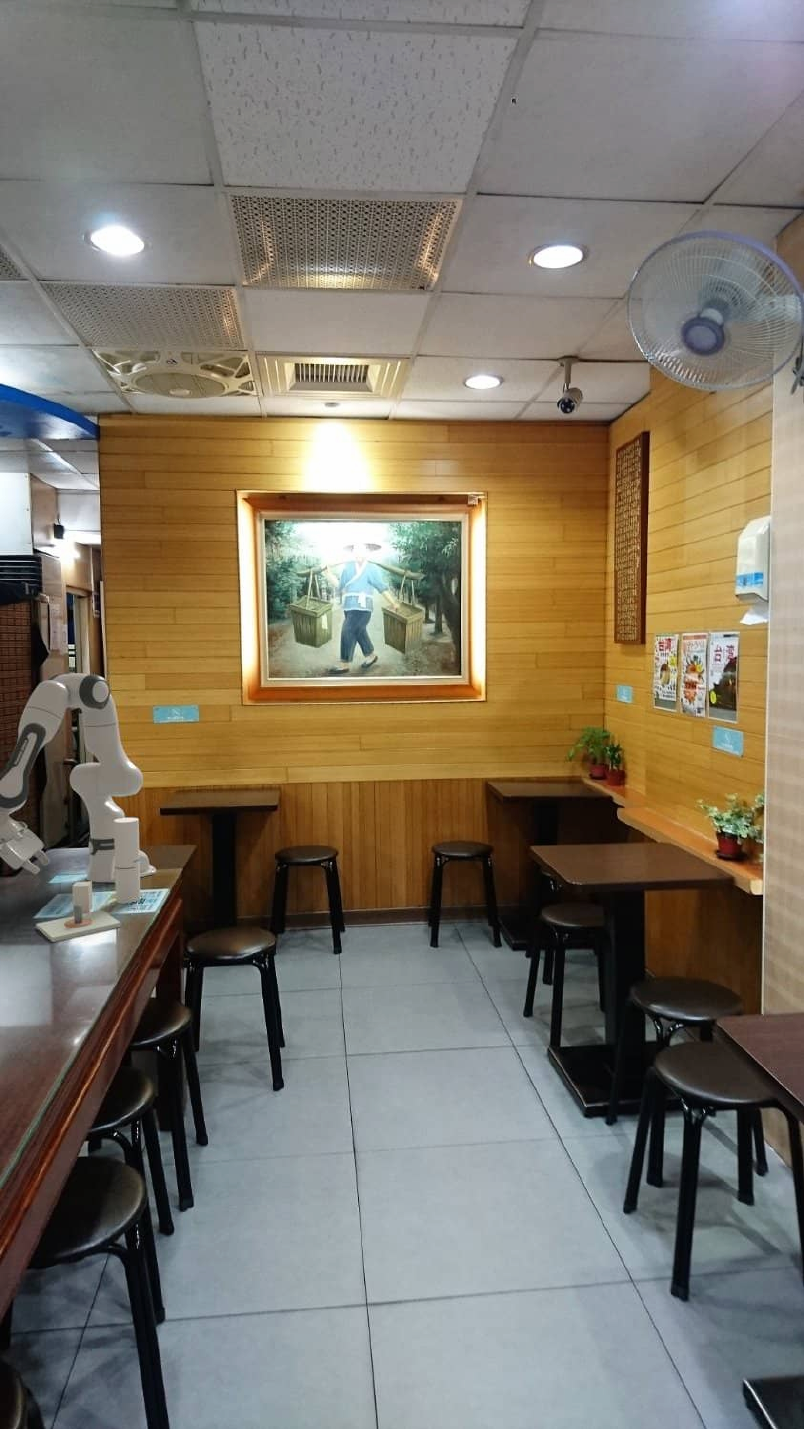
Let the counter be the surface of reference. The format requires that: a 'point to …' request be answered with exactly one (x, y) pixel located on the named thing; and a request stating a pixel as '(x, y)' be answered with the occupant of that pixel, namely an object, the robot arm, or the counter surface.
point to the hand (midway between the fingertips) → (43, 867)
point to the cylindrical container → (127, 860)
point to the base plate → (77, 924)
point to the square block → (83, 896)
